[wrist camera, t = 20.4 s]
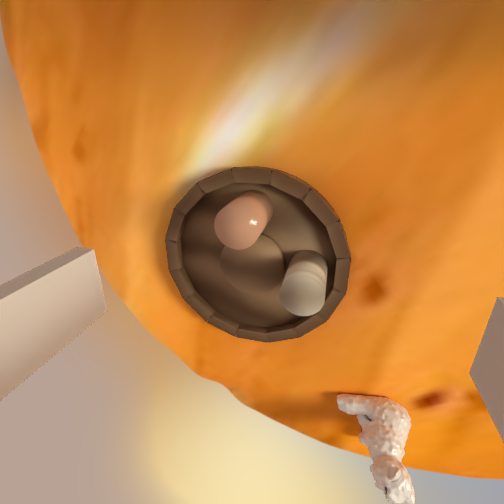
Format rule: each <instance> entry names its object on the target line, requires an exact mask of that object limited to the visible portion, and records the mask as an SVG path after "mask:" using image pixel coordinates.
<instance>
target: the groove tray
mask: <svg viewBox="0 0 504 504" xmlns="http://www.w3.org/2000/svg"><path fill="white" fill-rule="evenodd" d="M252 189H254V190H259V191H262V192H264V193H265V194H266V195H267V196H268V197H269V198H270V200H271V201H272V204H273V215H272V218H271V220H270V221H269V223H268V224H267V226H266V227H265V228H264V230H263V231H262V233H261V234H260V236H259V237H258V239H257V240H256V242H255V243H254V244H253V245H252V246H250V247H249V248H246V249H242V250H236V249H232V248H229V247H227V246H226V245H224V244H223V243H222V242H221V241H220V240H219V238H218V237H217V235H216V232H215V229H214V222H215V218H216V215H217V214H218V212H219V211H220V210H221V209H223V208H224V207H225V206H226V205H228V204H229V203H230V202H232V201H233V200H234V199H235V198H237V197H238V196H239V195H241V194H242V193H243V192H245V191H247V190H252ZM165 242H166V250H167V258H168V266H169V270H170V271H169V272H170V273H171V275H172V277H173V279H174V281H175V283H176V285H177V287H178V289H179V291H180V293H181V295H182V297H183V299H184V298H185V299H184V300H185V301H186V302H187V303H188V304H189V305H190V306H191V307H192V308H193V309H194V310H195V311H196V312H197V313H198V314H199V315H200V316H201V317H202V318H203V319H204V320H205V321H208V323H210V324H212V325H214V326H215V327H217V328H219V329H221V330H223V331H225V332H227V333H229V334H231V335H233V336H236V337H238V338H244V339H250V340H256V341H261V342H267V341H268V342H275V341H281V340H287V339H293V338H299V336H300V337H301V336H303V335H305V334H306V333H308V332H310V331H311V330H313V329H315V328H316V327H318V326H320V325H321V324H323V323H325V322H326V321H327V320H328V319H329V318H330V316H331V315H332V313H333V312H334V310H335V309H336V307H337V306H338V305H339V303H340V302H341V300H342V299H343V297H344V296H345V294H346V291H347V284H348V277H349V269H350V262H351V253H350V250H349V247H348V243H347V239H346V235H345V232H344V229H343V226H342V224H341V221H340V218H339V217H338V215H337V214H336V213H335V211H334V209H333V208H332V207H331V206H330V204H329V203H328V202H327V200H326V199H325V198H324V197H323V196H322V195H321V194H320V193H319V192H318V191H317V190H315V189H314V188H313V187H311V186H310V185H309V184H307V183H306V182H304V181H302V180H301V179H299V178H297V177H295V176H293V175H291V174H288V173H286V172H283V171H280V170H276V169H273V168H266V167H257V166H254V167H233V168H231V169H228V170H226V171H224V172H221V173H218V174H216V175H214V176H211V177H209V178H206V179H204V180H202V181H199V182H197V183H196V184H195V185H194V186H193V187H192V189H191V190H190V191H189V192H188V193H187V194H186V195H185V196H184V198H183V199H182V200H181V201H180V202H179V203H178V204H177V205H176V207H175V208H174V210H173V214H172V217H171V221H170V224H169V228H168V231H167V234H166V239H165ZM302 250H313V251H316V252H318V253H320V254H321V255H322V256H323V257H324V258H325V260H326V262H327V265H328V271H327V282H326V292H325V302H324V305H323V307H322V308H321V310H320V311H318V312H317V313H315V314H313V315H310V316H298V315H295V314H293V313H291V312H289V311H288V310H286V309H285V308H284V306H283V305H282V303H281V301H280V297H279V292H280V288H281V286H282V283H283V280H284V277H285V274H286V272H287V269H288V266H289V263H290V260H291V258H292V257H293V256H294V255H295V254H296V253H297V252H299V251H302Z"/></svg>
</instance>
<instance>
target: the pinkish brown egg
mask: <svg viewBox="0 0 504 504" xmlns="http://www.w3.org/2000/svg"><path fill="white" fill-rule="evenodd" d="M272 215H273V204H272V201H271V200H270V198H269V197H268V196H267V195H266V194H265V193H264V192H262V191H259V190H254V189H252V190H247V191H245V192H243V193H242V194H241V195H239V196H238V197H237V198H235V199H234V200H233V201H232V202H230V203H229V204H228V205H226V206H225V207H224V208H223V209H221V210H220V211H219V212H218V214H217V215H216V218H215V222H214V229H215V232H216V235H217V237H218V238H219V240H220V241H221V242H222V243H223V244H224V245H226V246H227V247H229V248H232V249H236V250H242V249H246V248H249V247H250V246H252V245H253V244H254V243H255V242H256V240H257V239H258V237H259V236H260V234H261V233H262V231H263V230H264V228H265V227H266V226H267V224H268V223H269V221H270V220H271V218H272Z"/></svg>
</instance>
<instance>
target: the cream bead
mask: <svg viewBox="0 0 504 504" xmlns="http://www.w3.org/2000/svg"><path fill="white" fill-rule="evenodd" d="M327 271H328V265H327V262H326V260H325V258H324V257H323V256H322V255H321V254H320V253H318V252H316V251H313V250H302V251H299V252H297V253H296V254H295V255H294V256H293V257H292V258H291V260H290V263H289V266H288V269H287V272H286V274H285V277H284V280H283V283H282V286H281V288H280V292H279V297H280V301H281V303H282V305H283V306H284V308H285V309H286V310H288V311H289V312H291V313H293V314H295V315H298V316H310V315H313V314H315V313H317V312H318V311H320V310H321V308H322V307H323V305H324V302H325V292H326V282H327Z"/></svg>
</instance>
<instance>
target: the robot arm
mask: <svg viewBox="0 0 504 504" xmlns="http://www.w3.org/2000/svg"><path fill="white" fill-rule="evenodd" d="M107 311H108V310H107V306H106V301H105V297H104V292H103V288H102V284H101V279H100V274H99V270H98V265H97V261H96V256H95V252H94V249H88V248H79V247H76V248H74V249H73V250H70V251H68V252H66V253H65V254H62V255H60V256H58V257H56V258H55V259H52V260H50V261H48V262H46V263H44V264H42V265H40V266H38V267H36V268H34V269H32V270H30V271H28V272H26V273H24V274H22V275H20V276H18V277H16V278H14V279H12V280H10V281H8V282H6V283H4V284H2V285H0V401H1V400H2V399H3V398H4V397H5V396H7V395H8V394H9V393H10V392H11V391H12V390H14V389H15V388H16V387H17V386H19V385H20V384H21V383H22V382H23V381H25V379H27V378H28V377H29V376H30V375H32V374H33V373H34V372H35V371H37V370H38V369H39V368H40V367H41V366H42V365H44V364H45V363H46V362H47V361H48V360H50V359H51V358H52V357H53V356H54V355H56V354H57V353H58V352H59V351H60V350H62V349H63V348H64V347H65V346H66V345H68V344H69V343H70V342H71V341H72V340H74V339H75V338H76V337H77V336H78V335H79V334H81V333H82V332H83V331H84V330H86V329H87V328H88V327H89V326H90V325H92V323H94V322H95V321H96V320H98V319H99V318H100V317H101V316H102V315H104V314H105V313H106V312H107ZM470 375H471V377H472V379H473V381H474V383H475V385H476V387H477V389H478V391H479V393H480V395H481V397H482V400H483V402H484V404H485V406H486V408H487V410H488V412H489V414H490V416H491V418H492V420H493V422H494V424H495V426H496V428H497V430H498V432H499V434H500V436H501V438H502V440H503V442H504V298H501V297H497V300H496V302H495V305H494V308H493V311H492V313H491V316H490V319H489V321H488V324H487V327H486V329H485V332H484V335H483V338H482V340H481V343H480V346H479V348H478V351H477V354H476V356H475V359H474V362H473V365H472V367H471V370H470Z"/></svg>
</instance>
